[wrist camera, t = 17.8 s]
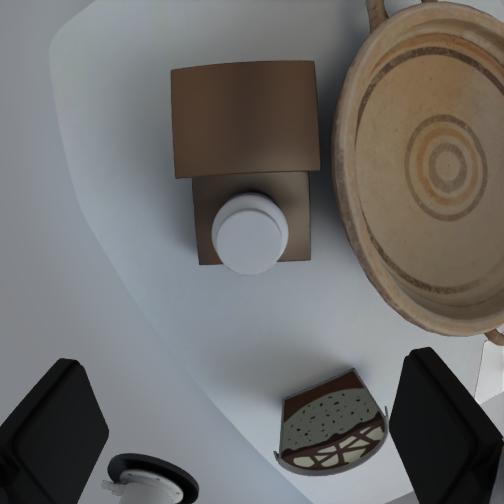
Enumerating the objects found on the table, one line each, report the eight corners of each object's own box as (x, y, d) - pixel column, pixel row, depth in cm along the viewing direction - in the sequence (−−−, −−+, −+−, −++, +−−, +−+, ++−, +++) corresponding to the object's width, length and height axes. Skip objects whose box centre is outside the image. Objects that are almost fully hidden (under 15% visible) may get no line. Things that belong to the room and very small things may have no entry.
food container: (292, 430, 37) (298, 489, 28) (271, 403, 36) (273, 465, 26) (378, 393, 36) (403, 449, 26) (365, 362, 34) (392, 419, 25)
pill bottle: (280, 250, 28) (289, 288, 20) (220, 248, 28) (204, 284, 20) (284, 190, 27) (296, 202, 18) (222, 187, 27) (204, 198, 18)
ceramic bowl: (542, 257, 30) (589, 280, 21) (382, 363, 34) (412, 419, 25) (451, -8, 22) (494, -40, 12) (235, 54, 26) (224, 9, 16)
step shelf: (203, 257, 31) (186, 288, 23) (192, 92, 27) (170, 69, 19) (306, 252, 31) (321, 282, 23) (300, 86, 27) (314, 60, 19)
